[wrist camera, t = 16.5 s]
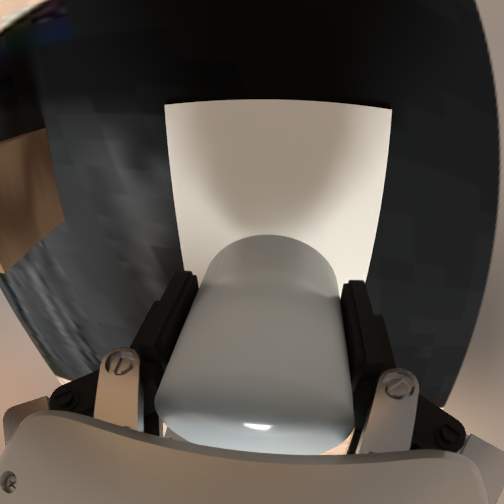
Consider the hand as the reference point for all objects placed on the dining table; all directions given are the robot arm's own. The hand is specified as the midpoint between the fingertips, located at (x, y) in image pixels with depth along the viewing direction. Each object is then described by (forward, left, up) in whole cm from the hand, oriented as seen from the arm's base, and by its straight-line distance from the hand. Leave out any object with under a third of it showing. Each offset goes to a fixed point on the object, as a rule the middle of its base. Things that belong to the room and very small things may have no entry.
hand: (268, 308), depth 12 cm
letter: (0, 0, -5) cm, 5 cm away
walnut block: (-4, -16, -5) cm, 17 cm away
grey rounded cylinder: (0, 0, -1) cm, 1 cm away
